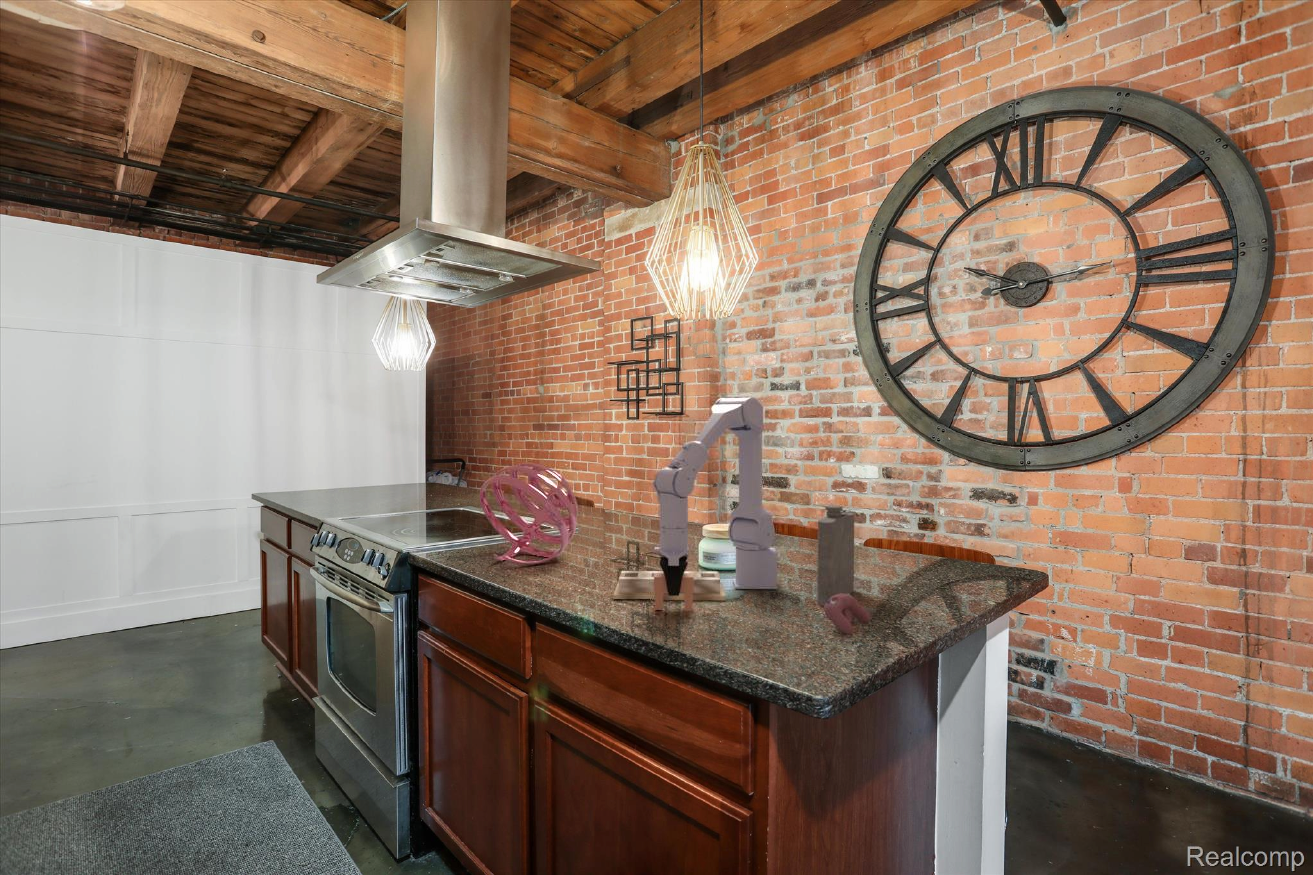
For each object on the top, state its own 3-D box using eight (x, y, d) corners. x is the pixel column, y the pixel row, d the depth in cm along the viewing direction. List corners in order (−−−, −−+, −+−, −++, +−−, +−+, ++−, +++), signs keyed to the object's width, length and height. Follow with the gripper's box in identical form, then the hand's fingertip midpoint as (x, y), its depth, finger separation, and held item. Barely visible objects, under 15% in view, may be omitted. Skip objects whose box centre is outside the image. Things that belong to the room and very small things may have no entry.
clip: (693, 607, 132) (693, 573, 131) (693, 611, 129) (693, 577, 128) (654, 606, 132) (654, 573, 132) (653, 611, 129) (653, 577, 129)
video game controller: (852, 626, 124) (837, 592, 126) (873, 620, 122) (857, 585, 123) (831, 640, 117) (815, 603, 118) (853, 634, 114) (836, 596, 116)
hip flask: (829, 607, 132) (830, 510, 131) (810, 603, 134) (811, 509, 133) (855, 590, 144) (856, 502, 144) (838, 587, 147) (838, 500, 146)
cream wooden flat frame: (721, 586, 147) (721, 569, 147) (725, 600, 136) (725, 581, 136) (618, 585, 148) (618, 568, 148) (613, 599, 137) (613, 581, 137)
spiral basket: (489, 500, 151) (554, 433, 169) (434, 516, 170) (498, 454, 188) (558, 584, 159) (614, 512, 178) (498, 590, 178) (554, 525, 196)
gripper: (655, 520, 137) (655, 583, 138) (652, 533, 123) (652, 602, 123) (688, 520, 137) (688, 583, 137) (689, 533, 122) (689, 603, 123)
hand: (673, 592), depth 130 cm, fingers closed on clip, 3 cm apart
